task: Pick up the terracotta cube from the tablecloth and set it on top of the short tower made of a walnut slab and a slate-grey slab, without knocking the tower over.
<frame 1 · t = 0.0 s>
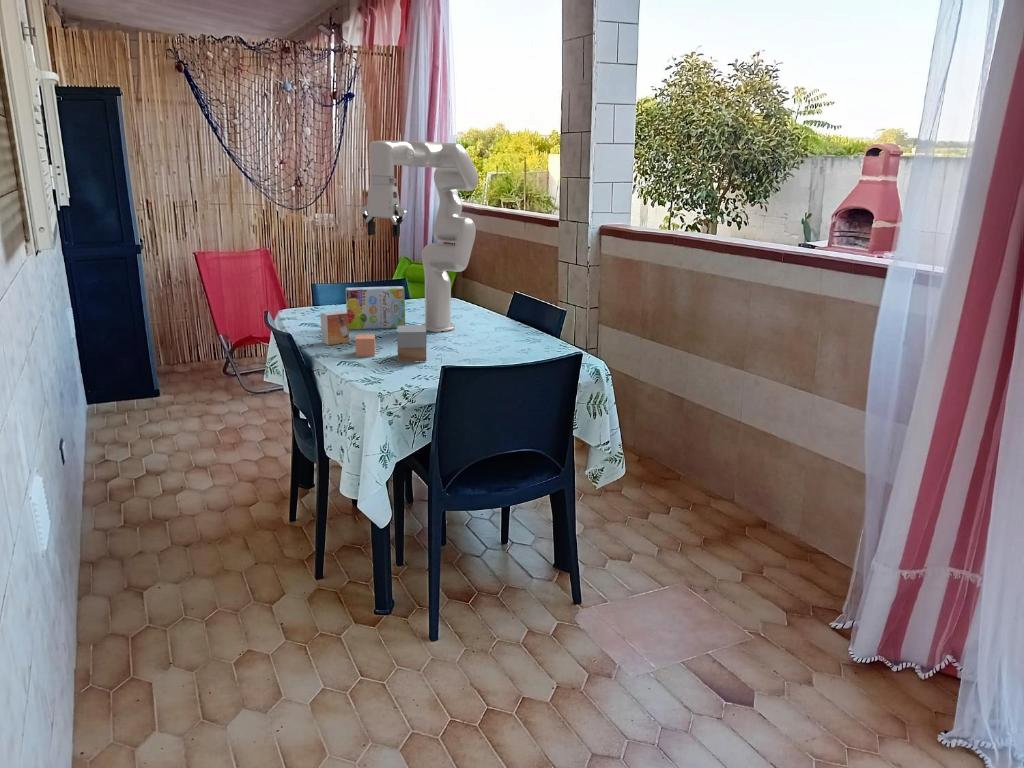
hand: (383, 235, 251), 37 cm above the table, tool pointing down, fingers open, 9 cm apart
terracotta cube: (365, 354, 253), on the table
snack box: (376, 327, 290), on the table
tower bottom block: (412, 359, 249), on the table, touching tower top block
small box: (335, 343, 267), on the table
tower top block: (411, 344, 248), point 5 cm above the table, touching tower bottom block
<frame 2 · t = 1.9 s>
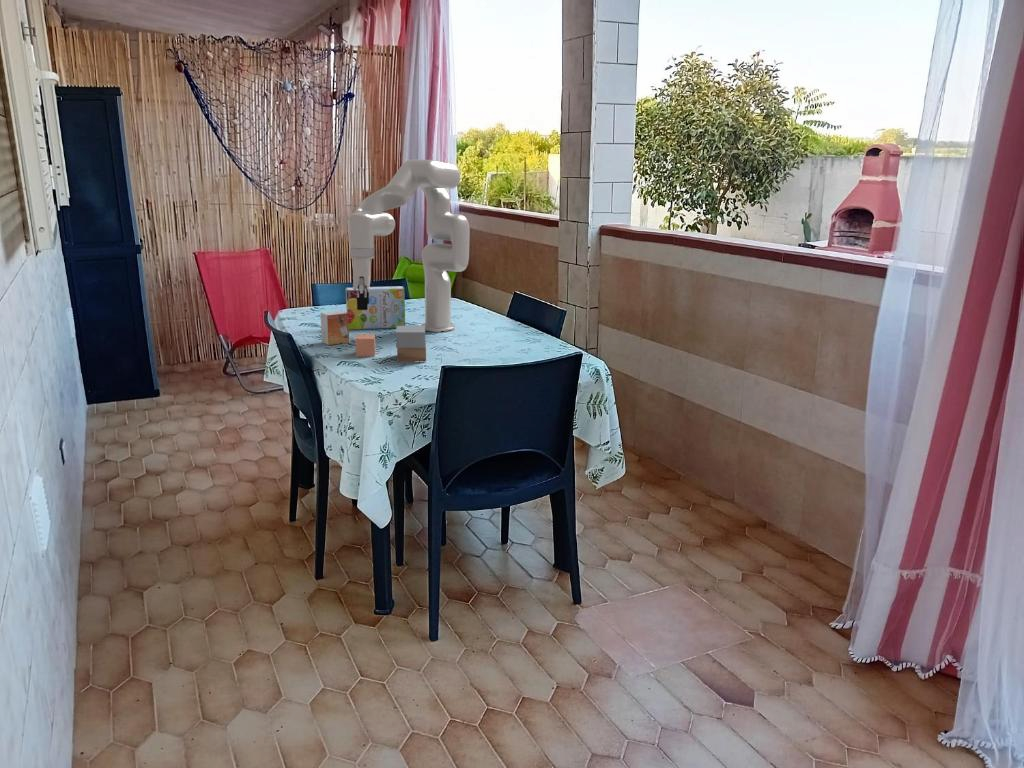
hand: (363, 306, 248), 16 cm above the table, tool pointing down, fingers open, 9 cm apart
nothing on the table moved.
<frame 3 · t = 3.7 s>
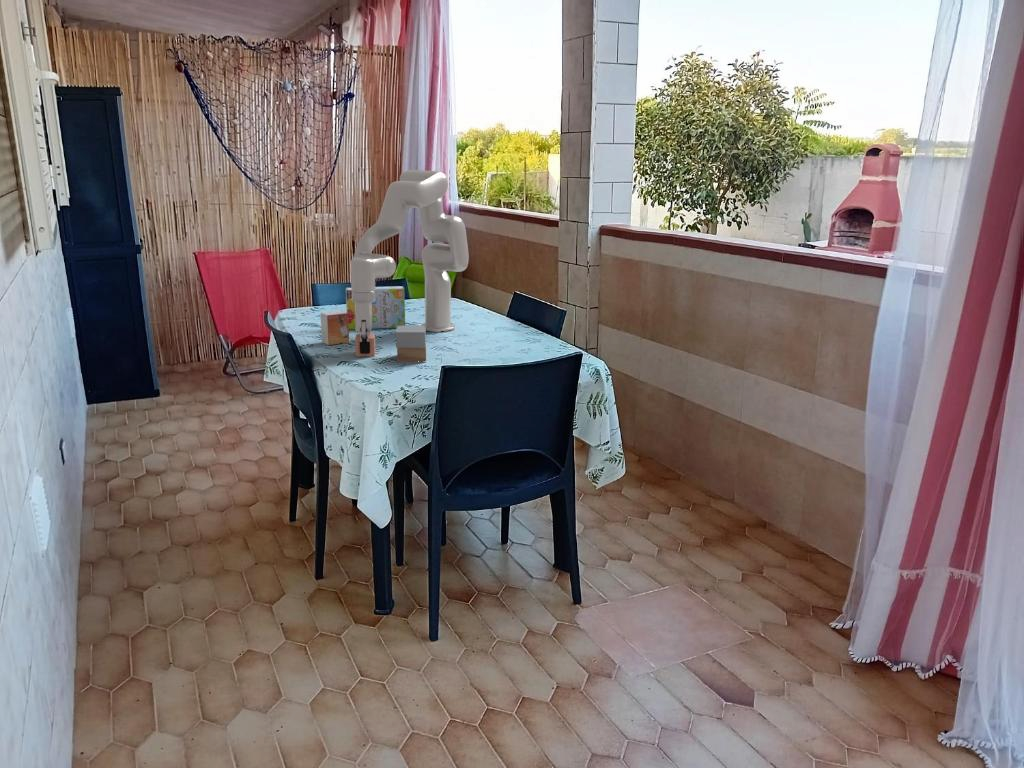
hand: (365, 350, 253), 1 cm above the table, tool pointing down, fingers closed on terracotta cube, 6 cm apart
terracotta cube: (365, 354, 253), on the table, touching gripper
everything else where it was.
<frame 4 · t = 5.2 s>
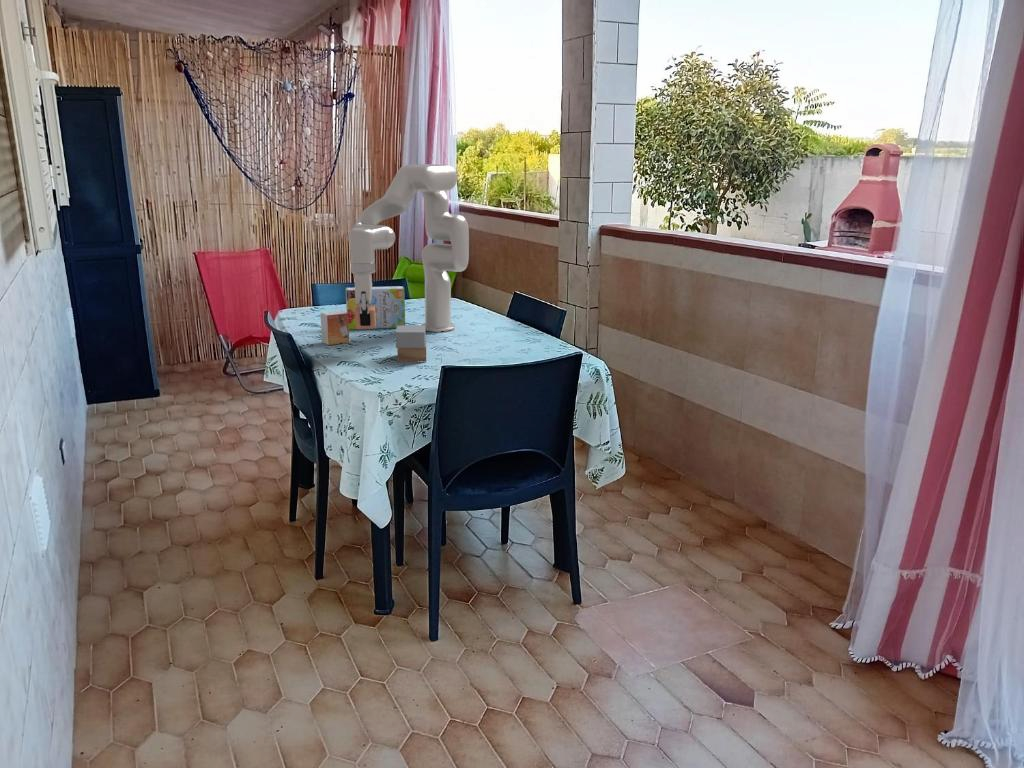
hand: (365, 322, 250), 10 cm above the table, tool pointing down, fingers closed on terracotta cube, 6 cm apart
terracotta cube: (366, 326, 251), point 9 cm above the table, touching gripper
everything else where it was.
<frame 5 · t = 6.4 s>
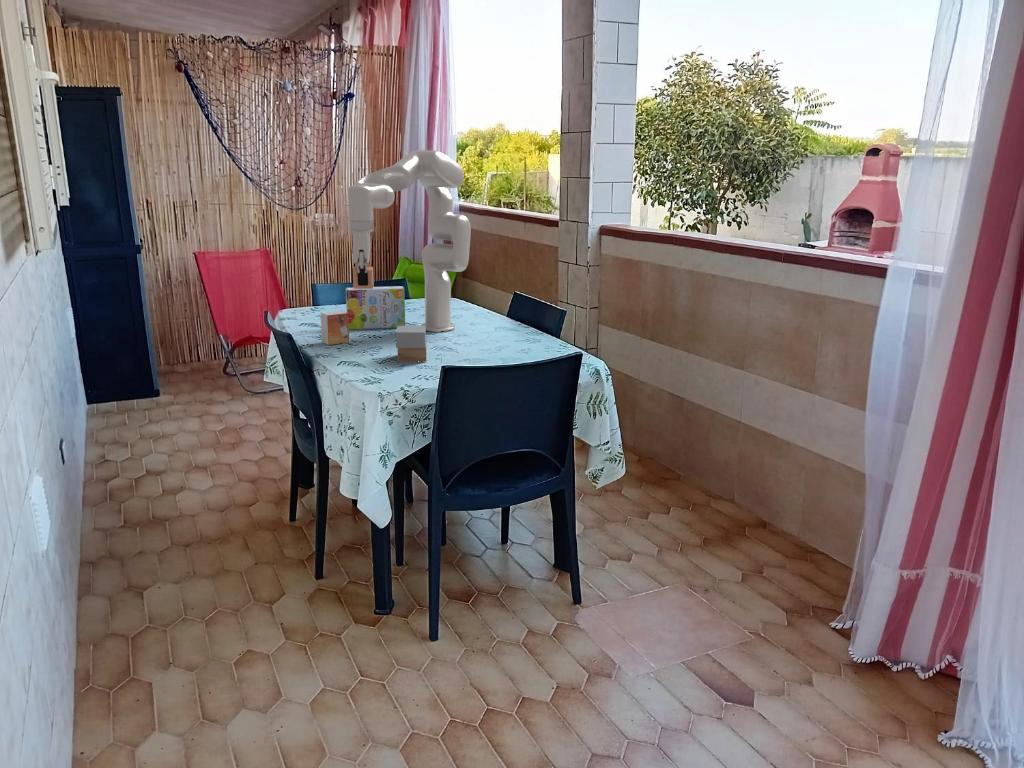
hand: (363, 282, 246), 23 cm above the table, tool pointing down, fingers closed on terracotta cube, 6 cm apart
terracotta cube: (363, 287, 247), point 22 cm above the table, touching gripper
everything else where it was.
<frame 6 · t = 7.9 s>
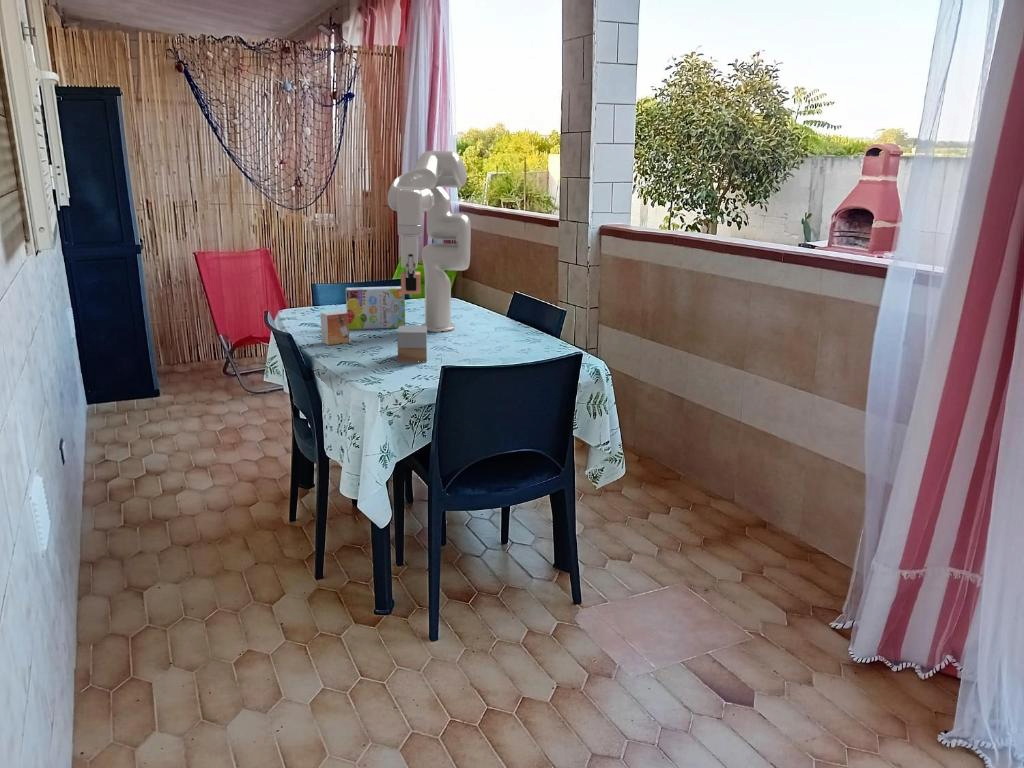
hand: (411, 288, 243), 23 cm above the table, tool pointing down, fingers closed on terracotta cube, 6 cm apart
terracotta cube: (411, 292, 243), point 22 cm above the table, touching gripper
everything else where it was.
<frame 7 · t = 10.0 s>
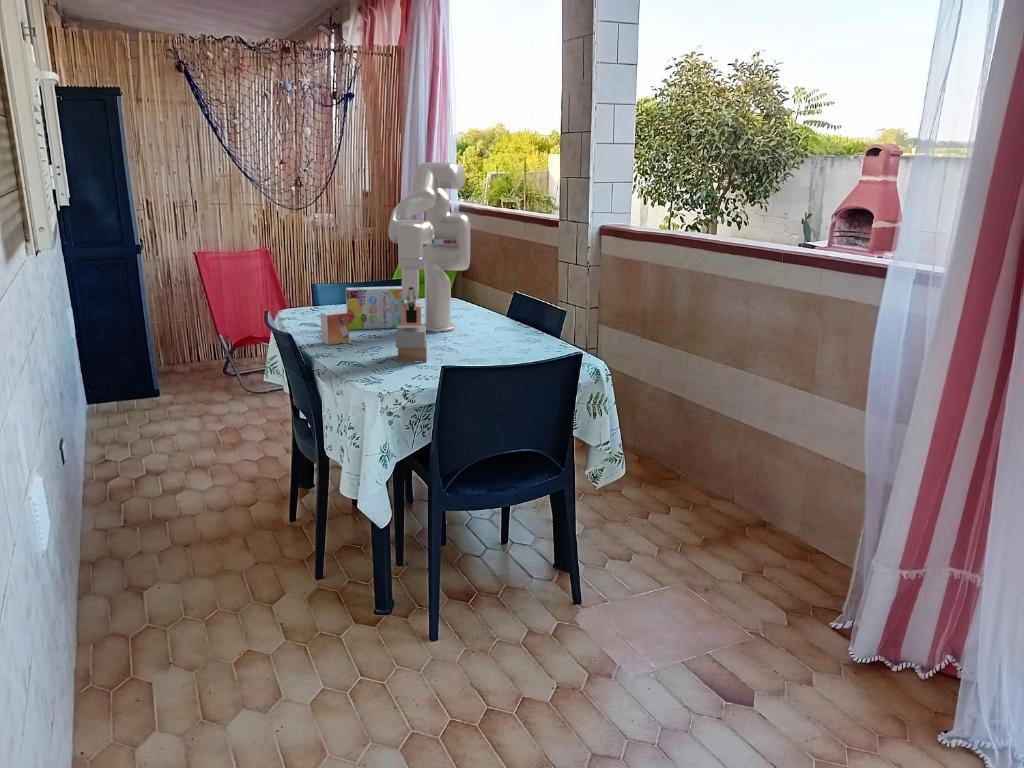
hand: (411, 319, 246), 13 cm above the table, tool pointing down, fingers closed on terracotta cube, 6 cm apart
terracotta cube: (411, 323, 246), point 11 cm above the table, touching gripper
everything else where it was.
when the fingers open (12 cm above the table, at t = 11.0 s): terracotta cube drops 1 cm, resting on tower top block.
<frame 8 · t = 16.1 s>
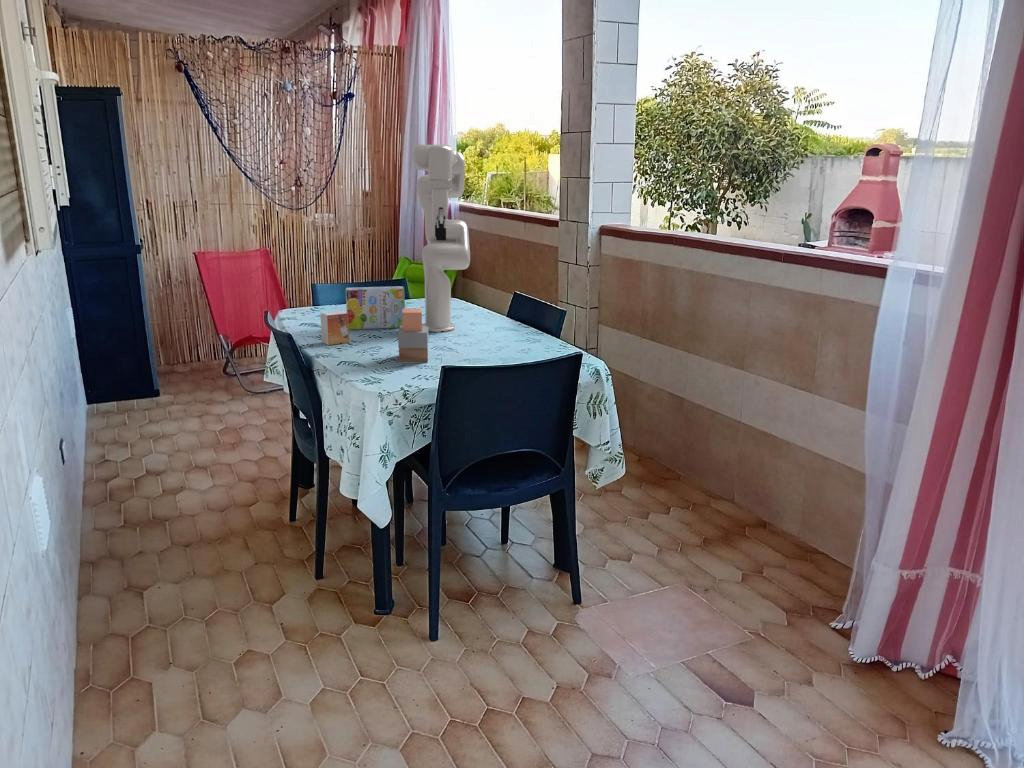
hand: (440, 238, 256), 36 cm above the table, tool pointing down, fingers open, 9 cm apart
terracotta cube: (412, 329, 246), point 10 cm above the table, touching tower top block
tower top block: (413, 344, 247), point 5 cm above the table, touching terracotta cube, tower bottom block
everything else where it was.
at the end: terracotta cube 0.5 cm off-centre on the tower top block, point 5.0 cm above the tower top block's base; tower top block 0.8 cm from the target spot, point 4.8 cm above the table; terracotta cube tilted 0° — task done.
